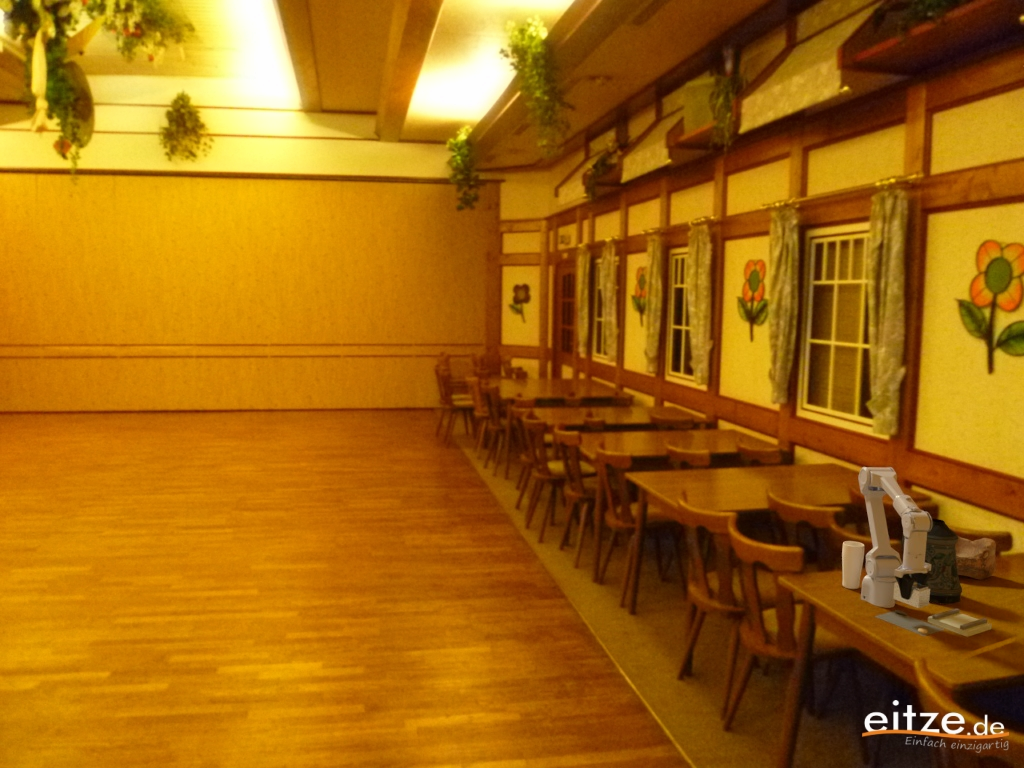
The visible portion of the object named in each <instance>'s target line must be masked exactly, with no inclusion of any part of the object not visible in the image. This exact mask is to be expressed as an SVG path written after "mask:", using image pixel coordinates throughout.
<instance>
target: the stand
mask: <svg viewBox="0 0 1024 768" xmlns="http://www.w3.org/2000/svg"><path fill="white" fill-rule="evenodd" d="M988 620H989V619H988V618H985V617H983V618H976V617H972V616H971V615H967V614H964V613H961V612H960V608H952V609H949V610H945V611H942V612H939V613H935V614H932V615H930V616H928V617H927V623H929V624H931V625H934V626H937V627H939V628H942V629H944V630H945V629H946V630H948V631H950V632H954V633H956V634H958V635H962V636H964V637H967V638H968V637H971V636H974V635H978V634H981V633H985V632H986V631H990V630H992V625H993V624H992V623H990V622H988Z"/></svg>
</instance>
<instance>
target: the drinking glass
mask: <svg viewBox="0 0 1024 768" xmlns="http://www.w3.org/2000/svg"><path fill="white" fill-rule="evenodd" d="M841 551H842V552H841V557H842V558H841V560H842V561H841V564H842V567H841V569H842V575H841V576H842V579H841V580H842V582H841V585H842V586H843V587H844V588H845V589H850V590H857V589H859V588H860V582H861V576H862V571H863V563H864V557H865V544H864V543H862V542H859V541H854V540H846V541H843V543H842V550H841Z"/></svg>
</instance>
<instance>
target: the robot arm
mask: <svg viewBox="0 0 1024 768" xmlns="http://www.w3.org/2000/svg"><path fill="white" fill-rule="evenodd" d="M897 475H898V474H897V472H896V471H895V469H894V468H893V467H891V466H888V467H872V466H871V467H866V466H863V467H861V468H860V471H859V474H858V477H857V479H858V484H859V489H860V494H862V495H863V496H864V500H865V507H866V512H867V518H868V524H869V531H870V537H871V543H872V549H871V550H869V551H868V552H867V553H866V554H865V572H866V573H867V574H866V575H865V576H864V577H863V579H862V581H861V591H860V592H861V593H860V600H862V601H865V602H868V603H870V604H871V605H873V606H876V607H878V608H879V607H880V608H890V609H891V608H894V607H895V604H896V600H895V599H893V597H894V584H895V582H898V585H899V588H900V593H901V598H904V599H906V600H909V598H910V594H911V589H912V586H913V583H914V581H917V583H918V584H921V585H924V586H925V584H926V582H927V581H928V579H929V578H930V577H931V574H930V573H928V572H927V571H931V564H929V563H926V562H925V552H926V540H927V532H929V531H930V530H931V529H932V516H931V514H930V513H929V512H928V511H924V510H923V509H920V508H919V506H918V504H917V503H916V502H915V500H913V498H912V497H911V496H910V495H908V494H905V493H904V491H903V490H902V488H901V486H900V485H899V484H898V481H897V480H898V476H897ZM886 495H888V496H889V497H890V499H892V507H893V508H894V510H895V511H896V512H897V514H898V516H900V518H901V525H902V531H903V532H902V536H903V535H904V536H905V541H904V546H903V553H902V554H903V555H902V559H901V556H900V553H899V552H898V551H896V550H895V549H894V548H893V547H891V542H890V541H891V540H890V536H889V531H888V525H887V524H888V523H887V518H886V513H885V507H884V502H883V498H884V496H886ZM910 574H911V576H909V575H910ZM911 577H912V578H911Z"/></svg>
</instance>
